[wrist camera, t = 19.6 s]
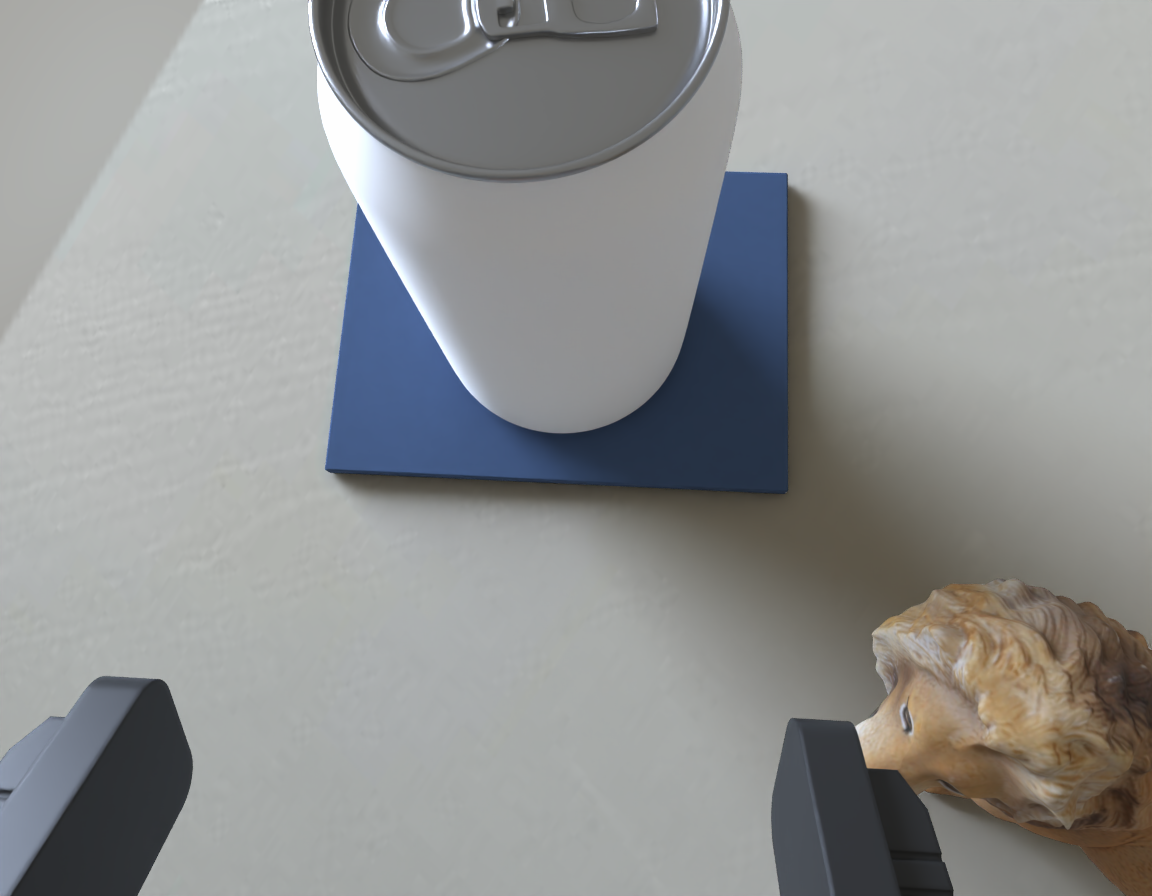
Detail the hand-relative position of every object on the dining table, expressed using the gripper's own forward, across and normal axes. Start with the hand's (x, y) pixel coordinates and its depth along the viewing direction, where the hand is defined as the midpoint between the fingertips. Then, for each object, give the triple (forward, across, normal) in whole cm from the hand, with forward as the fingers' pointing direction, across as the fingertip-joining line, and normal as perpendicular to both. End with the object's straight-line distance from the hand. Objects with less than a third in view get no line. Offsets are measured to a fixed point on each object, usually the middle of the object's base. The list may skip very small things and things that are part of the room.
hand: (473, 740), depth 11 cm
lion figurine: (+6, -12, +9) cm, 16 cm away
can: (+14, 0, 0) cm, 14 cm away
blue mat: (+14, 0, 0) cm, 14 cm away
